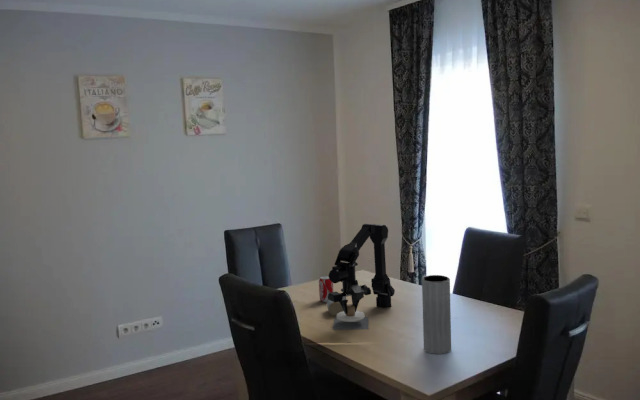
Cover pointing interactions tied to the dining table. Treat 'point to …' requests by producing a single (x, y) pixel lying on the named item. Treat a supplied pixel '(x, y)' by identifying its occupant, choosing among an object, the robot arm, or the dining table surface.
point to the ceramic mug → (334, 307)
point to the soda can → (325, 288)
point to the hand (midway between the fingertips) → (350, 313)
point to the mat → (351, 324)
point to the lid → (350, 314)
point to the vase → (436, 314)
